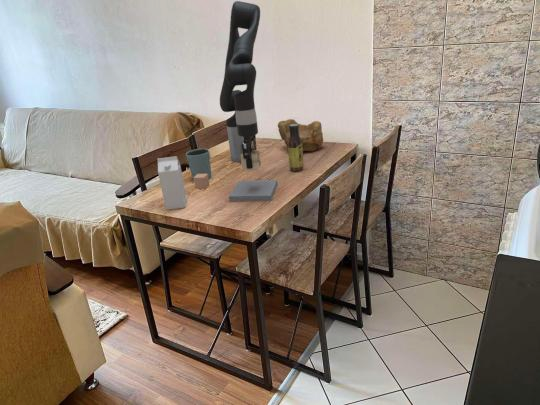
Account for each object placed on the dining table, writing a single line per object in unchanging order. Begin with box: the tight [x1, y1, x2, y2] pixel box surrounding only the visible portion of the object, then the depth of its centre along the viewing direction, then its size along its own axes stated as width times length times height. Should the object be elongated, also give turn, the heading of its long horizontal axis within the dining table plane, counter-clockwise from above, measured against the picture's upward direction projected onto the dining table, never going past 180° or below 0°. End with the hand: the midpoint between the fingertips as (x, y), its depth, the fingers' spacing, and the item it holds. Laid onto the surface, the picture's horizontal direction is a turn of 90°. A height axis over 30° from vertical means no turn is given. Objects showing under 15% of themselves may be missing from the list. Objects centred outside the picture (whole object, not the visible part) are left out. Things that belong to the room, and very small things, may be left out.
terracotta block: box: [193, 174, 210, 190], centre depth 168 cm, size 5×5×5 cm
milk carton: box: [157, 156, 188, 211], centre depth 149 cm, size 7×7×19 cm
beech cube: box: [241, 149, 262, 171], centre depth 152 cm, size 6×6×6 cm
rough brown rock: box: [277, 118, 324, 154], centre depth 201 cm, size 23×17×15 cm
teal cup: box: [185, 148, 212, 181], centre depth 177 cm, size 10×10×12 cm
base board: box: [228, 179, 279, 202], centre depth 157 cm, size 16×16×2 cm
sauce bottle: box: [287, 123, 304, 172], centre depth 174 cm, size 6×6×20 cm
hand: (251, 165), depth 153 cm, fingers closed on beech cube, 6 cm apart
